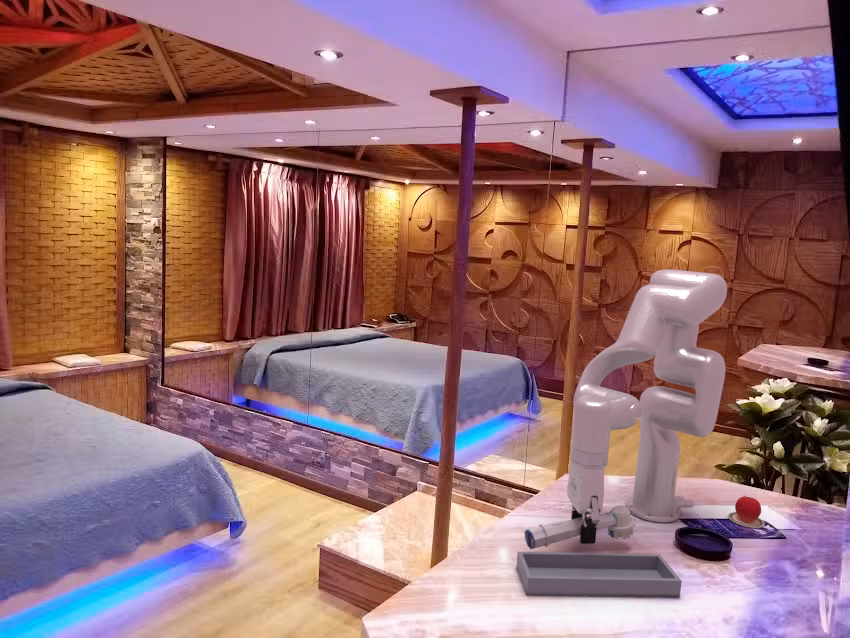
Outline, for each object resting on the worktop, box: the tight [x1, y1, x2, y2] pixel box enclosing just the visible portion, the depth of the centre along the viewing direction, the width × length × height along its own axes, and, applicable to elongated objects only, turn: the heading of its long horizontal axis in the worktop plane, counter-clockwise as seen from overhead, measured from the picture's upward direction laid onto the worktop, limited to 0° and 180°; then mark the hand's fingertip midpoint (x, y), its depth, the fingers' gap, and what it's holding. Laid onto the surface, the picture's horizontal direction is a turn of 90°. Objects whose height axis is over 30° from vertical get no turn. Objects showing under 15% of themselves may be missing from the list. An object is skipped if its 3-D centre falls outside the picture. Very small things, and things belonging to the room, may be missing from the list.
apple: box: [727, 495, 765, 529], centre depth 156 cm, size 8×8×6 cm
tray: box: [515, 551, 683, 599], centre depth 125 cm, size 30×10×4 cm, turn 94°
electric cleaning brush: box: [524, 505, 636, 550], centre depth 136 cm, size 5×7×25 cm
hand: (582, 534), depth 136 cm, fingers closed on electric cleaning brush, 5 cm apart
